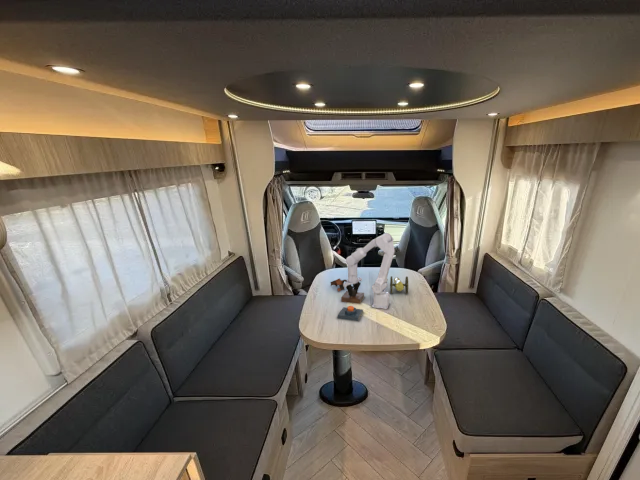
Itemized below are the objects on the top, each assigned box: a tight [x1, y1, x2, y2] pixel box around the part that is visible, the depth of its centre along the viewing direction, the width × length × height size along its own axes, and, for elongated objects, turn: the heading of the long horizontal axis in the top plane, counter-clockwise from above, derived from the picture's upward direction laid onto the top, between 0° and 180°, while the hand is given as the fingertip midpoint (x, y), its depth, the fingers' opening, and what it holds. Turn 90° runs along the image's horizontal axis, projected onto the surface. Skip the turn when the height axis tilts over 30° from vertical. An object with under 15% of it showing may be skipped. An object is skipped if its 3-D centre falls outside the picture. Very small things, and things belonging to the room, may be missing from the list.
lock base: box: [340, 290, 365, 305], centre depth 195 cm, size 12×10×3 cm
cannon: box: [389, 275, 409, 295], centre depth 208 cm, size 25×12×11 cm, turn 179°
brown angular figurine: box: [329, 278, 348, 293], centre depth 211 cm, size 12×10×8 cm
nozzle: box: [346, 305, 355, 311], centre depth 174 cm, size 4×4×2 cm
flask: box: [337, 306, 364, 322], centre depth 175 cm, size 12×10×4 cm
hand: (353, 294), depth 194 cm, fingers closed on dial, 4 cm apart
